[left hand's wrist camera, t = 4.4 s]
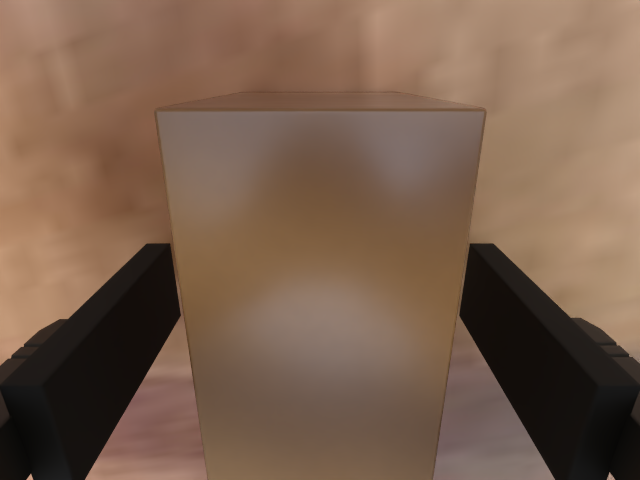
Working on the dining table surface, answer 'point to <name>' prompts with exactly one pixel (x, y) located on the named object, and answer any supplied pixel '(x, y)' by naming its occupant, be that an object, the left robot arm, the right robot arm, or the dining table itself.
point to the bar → (320, 275)
